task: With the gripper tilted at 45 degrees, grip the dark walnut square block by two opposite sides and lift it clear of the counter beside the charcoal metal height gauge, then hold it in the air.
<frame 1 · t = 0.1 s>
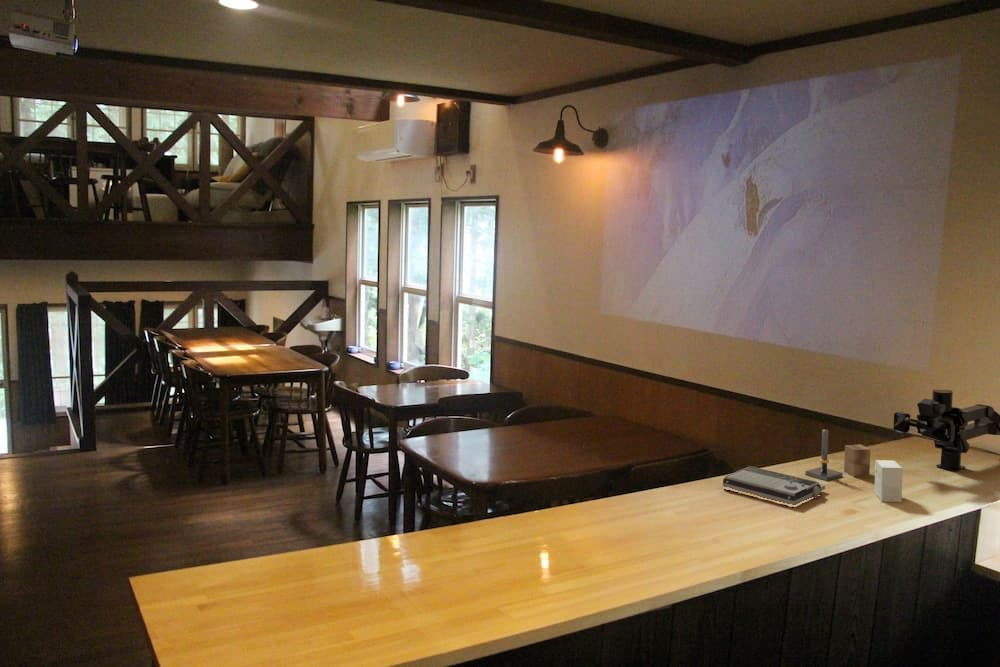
hand: (907, 430, 246), 17 cm above the bar counter, tool horizontal, fingers open, 9 cm apart
walnut block: (856, 473, 257), on the bar counter
radio: (774, 493, 242), on the bar counter
small box: (887, 498, 234), on the bar counter
height gauge: (823, 475, 256), on the bar counter
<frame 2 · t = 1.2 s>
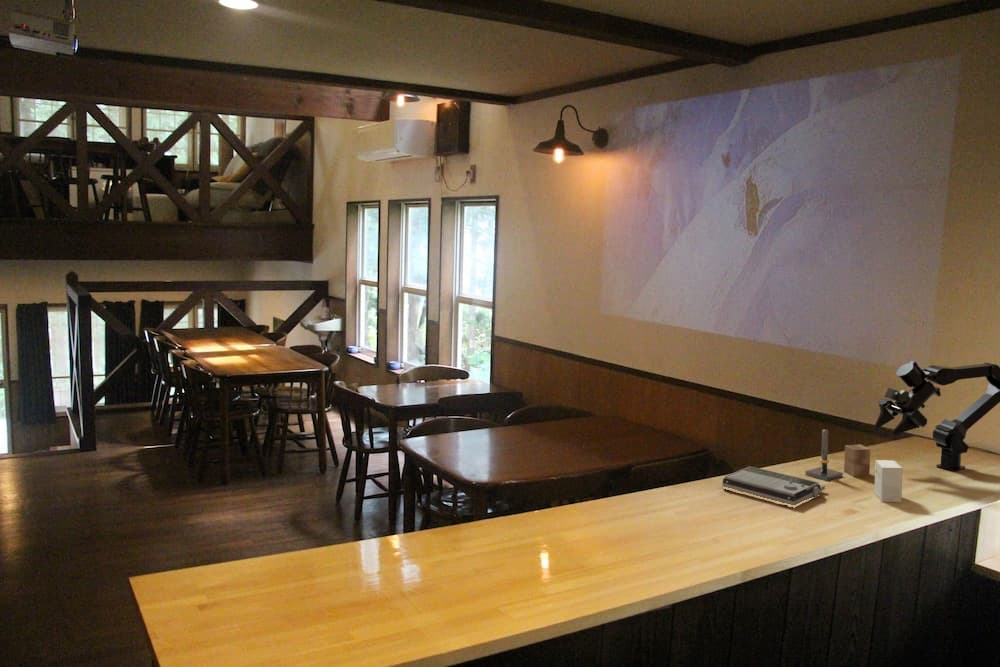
hand: (884, 430, 256), 14 cm above the bar counter, tool tilted 45°, fingers open, 9 cm apart
nothing on the bar counter moved.
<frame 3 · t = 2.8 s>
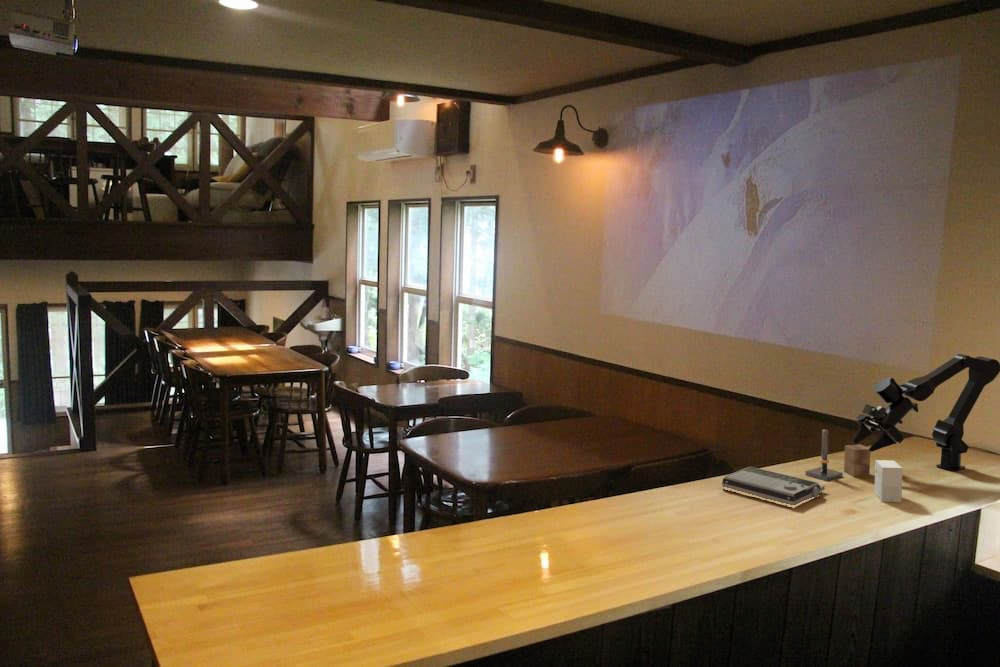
hand: (861, 446, 256), 9 cm above the bar counter, tool tilted 45°, fingers open, 9 cm apart
nothing on the bar counter moved.
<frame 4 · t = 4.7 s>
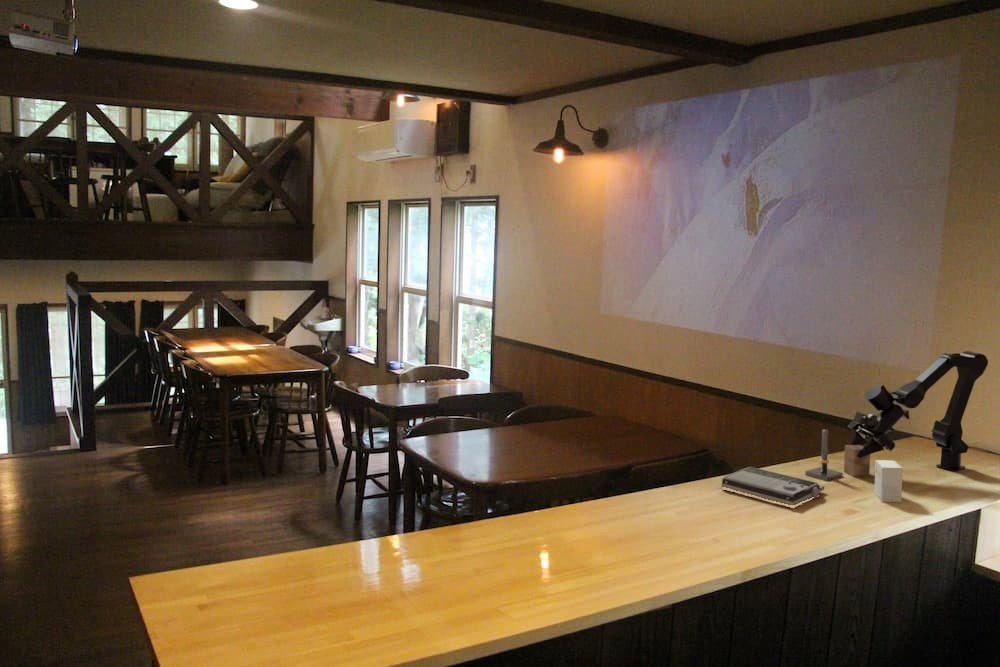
hand: (853, 454, 256), 7 cm above the bar counter, tool tilted 45°, fingers closed on walnut block, 5 cm apart
walnut block: (856, 473, 257), on the bar counter, touching gripper
everything else where it was.
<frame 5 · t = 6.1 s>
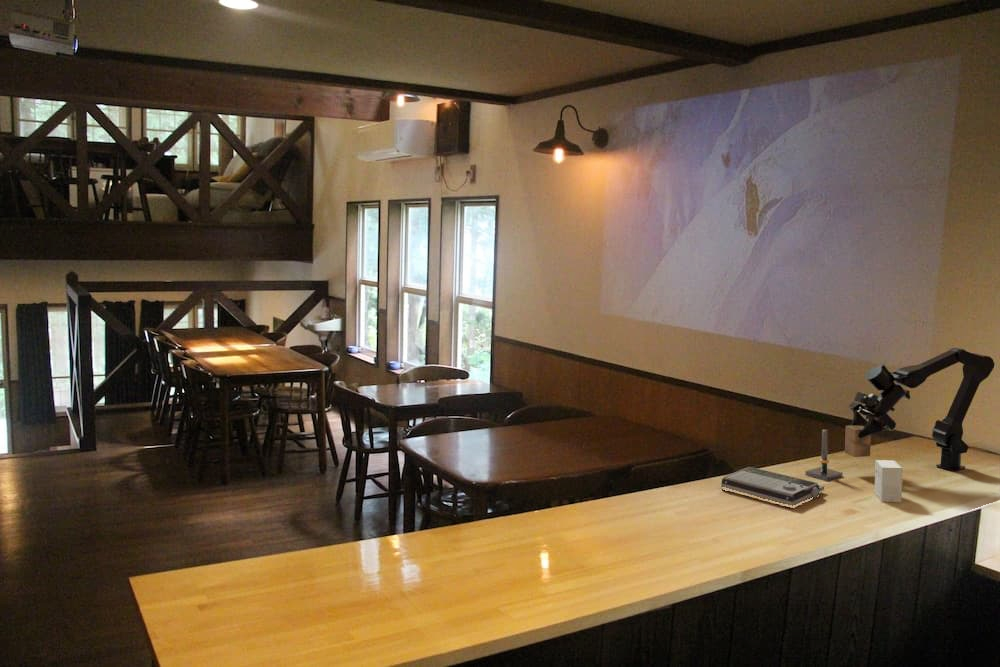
hand: (854, 434, 255), 13 cm above the bar counter, tool tilted 45°, fingers closed on walnut block, 5 cm apart
walnut block: (857, 454, 256), point 7 cm above the bar counter, touching gripper
everything else where it was.
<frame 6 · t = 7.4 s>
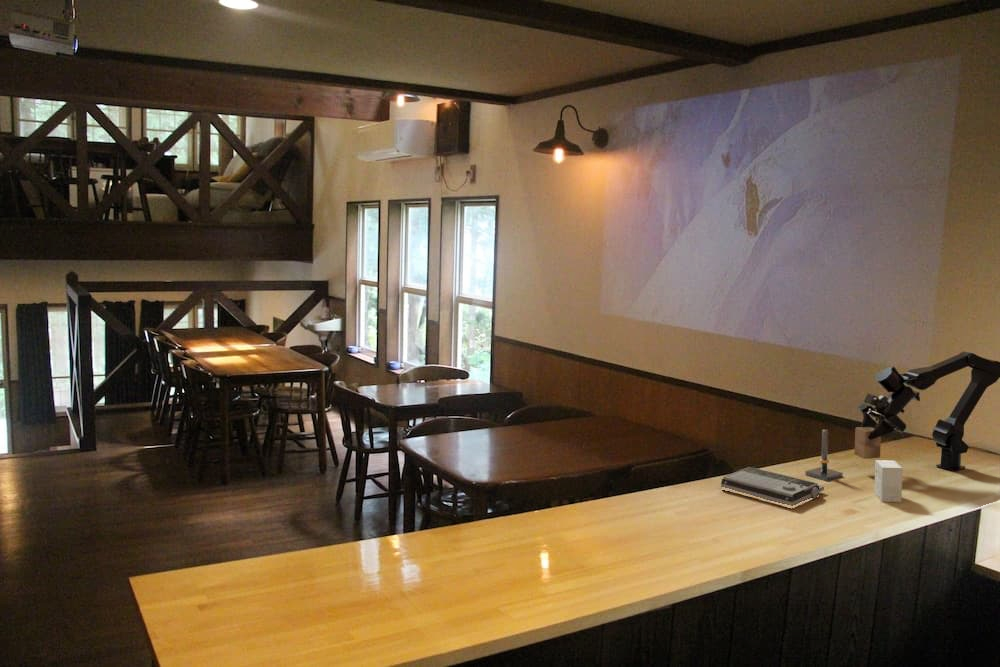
hand: (863, 436, 256), 12 cm above the bar counter, tool tilted 45°, fingers closed on walnut block, 5 cm apart
walnut block: (867, 455, 257), point 6 cm above the bar counter, touching gripper
everything else where it was.
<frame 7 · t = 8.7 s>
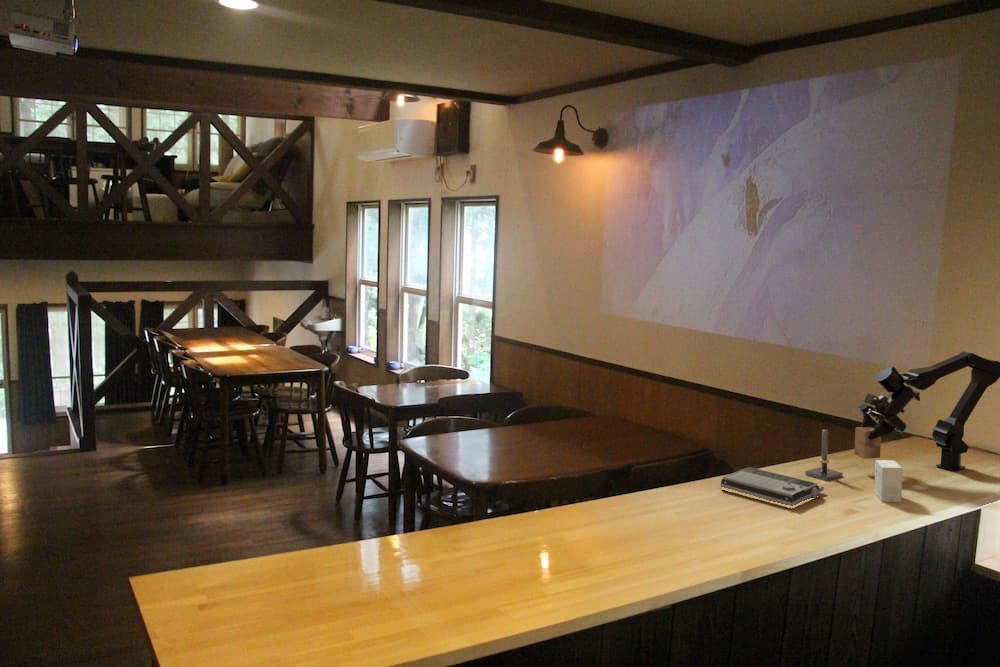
hand: (863, 436, 256), 12 cm above the bar counter, tool tilted 45°, fingers closed on walnut block, 5 cm apart
walnut block: (867, 455, 257), point 6 cm above the bar counter, touching gripper
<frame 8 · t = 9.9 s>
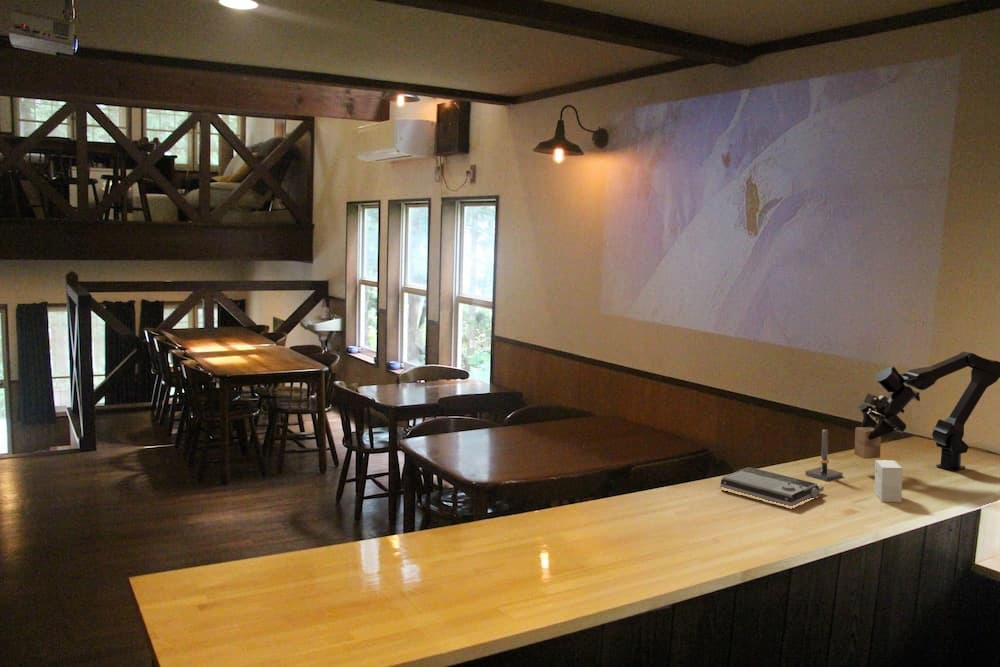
hand: (863, 436, 256), 12 cm above the bar counter, tool tilted 45°, fingers closed on walnut block, 5 cm apart
walnut block: (867, 455, 257), point 6 cm above the bar counter, touching gripper
at the end: the gripper is holding walnut block; walnut block point 5.9 cm above the bar counter; walnut block tilted 0° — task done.
